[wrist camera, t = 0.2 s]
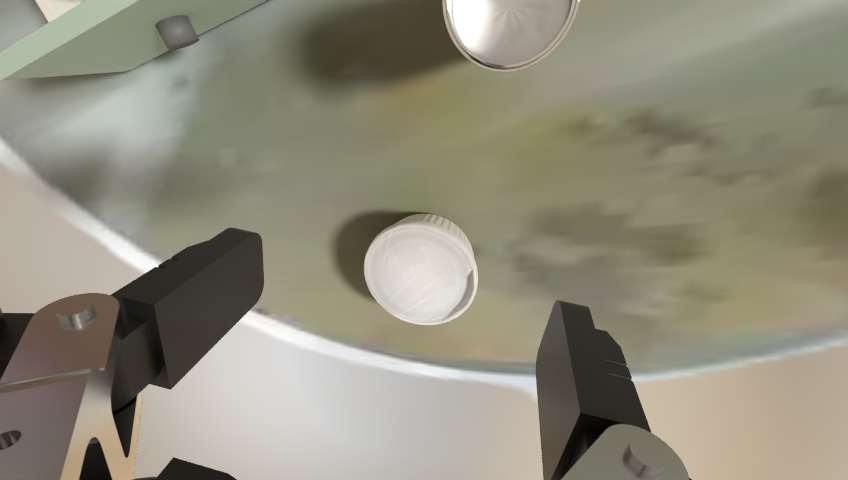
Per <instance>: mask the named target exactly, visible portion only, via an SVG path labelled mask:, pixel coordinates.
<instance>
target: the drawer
mask: <svg viewBox="0 0 848 480" xmlns="http://www.w3.org/2000/svg"><path fill="white" fill-rule="evenodd" d="M35 1H36V2H37V4H38V6H39V7H40V9H41V10H42V12H43V14H44V15H45V17H46V19H47V20H48V22H49V23H47V24H46V25H44V26H43V27H41V28H39V29H38V30H36V31H34V32H33V33H31V34H30V35H28V36H26V37H25V38H23V39H21V40H20V41H18V42H17V43H15V44H13V45H12V46H10V47H8V48H7V49H5V50H4V51H2V52H0V80H12V79H26V78H40V77H54V76H68V75H83V74H97V73H111V72H125V71H130V70H132V69H134V68H136V67H137V66H139V65H141V64H143V63H145V62H147V61H149V60H151V59H153V58H155V57H157V56H159V55H161V54H163V53H165V52H167V51H169V50H171V49H179V48H183V47H187V46H190V45H192V44H194V43H196V42H197V41H198V40H199V38H198V35H200V34H202V33H204V32H206V31H208V30H210V29H212V28H214V27H216V26H218V25H220V24H222V23H224V22H226V21H228V20H230V19H232V18H234V17H236V16H238V15H239V14H241V13H243V12H245V11H247V10H249V9H251V8H253V7H255V6H257V5H259V4H261V3H263V2H265V1H267V0H35Z"/></svg>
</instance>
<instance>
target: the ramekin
mask: <svg viewBox="0 0 848 480" xmlns="http://www.w3.org/2000/svg"><path fill="white" fill-rule="evenodd" d="M364 277H365V281H366V284H367V286H368V289H369V291H370V293H371V295H372V296H373V297H374V299H375V300H376V301H377V302H378V304H379V305H380V306H381V307H383V308H384V309H385V310H386V311H387V312H388V313H390V314H391V315H393V316H395V317H397V318H399V319H401V320H403V321H406V322H409V323H413V324H418V325H436V324H442V323H445V322H448V321H451V320H453V319H455V318H456V317H458V316H460V315H461V314H462V313H463V312H464V311H466V309H467V308H468V307H469V306H470V304H471V303H472V301H473V299H474V297H475V294H476V291H477V286H478V270H477V266H476V262H475V260H474V255H473V250H472V247H471V244H470V242H469V240H468V239H467V237H466V235H465V234H464V233H463V232H462V230H461V229H460V228H458V226H457V225H455V224H454V223H453V222H451V221H449V220H447V219H445V218H442V217H440V216H436V215H433V214H415V215H411V216H408V217H406V218H403V219H402V220H400V221H398V222H397V223H395V224H393V225H391V226H389V227H387V228H386V229H384V230H383V231H382V232H380V233H379V234H378V235H377V236H376V237H375V239H374V240H373V241H372V243H371V244H370V246H369V248H368V250H367V252H366V255H365V259H364Z"/></svg>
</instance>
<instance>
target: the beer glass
mask: <svg viewBox="0 0 848 480" xmlns="http://www.w3.org/2000/svg"><path fill="white" fill-rule="evenodd" d="M579 4H580V0H442V7H443V15H444V20H445V24H446V27H447V30H448V33H449V35H450V37H451V39H452V41H453V43H454V44H455V46H456V47H457V48H458V50H459V51H460V52H461V53H462V54H463V55H464V56H465V57H466V58H467V59H469V60H470V61H471V62H473V63H474V64H476V65H478V66H480V67H482V68H485V69H488V70H491V71H496V72H514V71H519V70H523V69H526V68H528V67H531V66H533V65H535V64H537V63H538V62H540V61H541V60H543V59H544V58H546V57H547V56H548V55H550V54H551V53H552V52H553V51H554V50H555V49H556V48H557V47H558V46H559V45H560V43H561V42H562V41H563V40H564V38H565V37H566V35H567V34H568V32H569V30H570V28H571V27H572V24H573V22H574V20H575V17H576V15H577V12H578V8H579Z"/></svg>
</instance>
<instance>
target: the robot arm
mask: <svg viewBox="0 0 848 480" xmlns="http://www.w3.org/2000/svg"><path fill="white" fill-rule="evenodd" d="M263 286H264V272H263V251H262V239H261V236H260V235H259V234H258V233H254V232H249V231H245V230H240V229H236V228H228V229H226V230H224V231H223V232H221V233H220V234H218V235H217V236H215V237H214V238H212V239H211V240H209V241H205V242H202V243H199V244H196V245H193V246H190V247H187V248H186V249H184V250H182V251H181V252H179V253H177V254H176V255H174V256H173V257H172V259H168V260H166V261H165V262H163V263H161V264H160V265H159V267H158V268H157V267H155V268H153V269H152V270H150V271H149V272H147V273H145V274H144V275H142V276H141V277H139V278H137V279H136V280H134V281H132V282H131V283H129V284H128V285H126V286H125V287H123V288H121V289H120V290H118V291H117V292H115V293H113V294H112V295H107V294H99V293H88V294H79V295H74V296H70V297H66V298H63V299H60V300H58V301H55V302H53V303H51V304H48V305H47V306H45V307H43V308H42V309H40V310H39V311H38V312H37V313H34V314H32V313H30V314H29V313H2V311H1V309H0V480H236V479H235V478H234V477H232V476H231V475H229V474H228V473H224V472H221V471H217V470H214V469H211V468H207V467H204V466H201V465H197V464H194V463H190V462H187V461H183V460H180V459H177V458H173V459H172V460H171V461H170V462H169V463H168V465H167V466H166V467H165V468H164V470H163V471H162V472H161V473H160V474H159V476H158V477H147V478H138V479H134V466H135V459H136V451H137V443H138V435H139V425H140V418H141V410H142V395H141V391H142V390H143V389H144V388H145V387H146V386H147V385H148V384H152V385H156V386H159V387H163V388H167V389H172V387H174V386H175V385H176V384H177V383H178V382H179V381H180V380H181V379H182V378H183V377H184V376H185V375H186V373H188V371H190V370H191V369H192V368H193V367H194V365H196V363H197V362H198V361H199V360H200V359H201V358H202V357H203V356H204V355H205V354H206V353H207V352H208V351H209V350H210V349H211V348H212V347H213V346H214V345H215V344H216V343H217V342H218V341H219V340H220V339H221V338H222V337H223V336H224V335H225V334H226V333H227V332H228V331H229V330H230V329H231V328H232V327H233V326H234V325H235V324H236V323H237V322H238V321H239V320H240V319H241V318H242V317H243V316H244V315H245V314H246V313H247V312H248V311H249V310H250V309H251V308H252V307H253V306H254V305H255V304H256V303H257V301H258V300H259V298H260V296H261V294H262V291H263ZM626 365H627V364H626V361H625V358H624V355H623V353H622V350H621V347H620V346H619V345H618V344H617V343H616V342H615V340H614V339H613V338H612V337H611V336H610V335H609V333H608V332H607V331H602V330H598V329H595V327H594V323H593V320H592V316H591V313H590V310H589V308H588V307H586V306H582V305H577V304H573V303H568V302H564V301H559V300H557V301H556V302H555V304H554V306H553V309H552V312H551V315H550V317H549V320H548V323H547V326H546V329H545V332H544V335H543V338H542V341H541V344H540V347H539V350H538V355H537V361H536V381H537V395H538V408H539V421H540V436H541V449H542V463H543V475H544V480H692V479H690V478H689V477H688V473H687V470H686V468H685V466H684V464H683V463H682V461H681V459H680V458H679V457H678V455H677V454H676V453H675V452H674V451H673V450H672V448H670V447H669V446H668V445H667V444H666V443H665V442H664V441H662V440H661V439H660V438H658V437H657V436H655V435H654V434H652V433H651V430H650V428H649V425H648V422H647V419H646V416H645V414H644V411H643V408H642V405H641V403H640V400H639V397H638V394H637V391H636V389H635V386H634V383H633V382H632V381H631V375H630V372H629V369H628V367H626Z"/></svg>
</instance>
